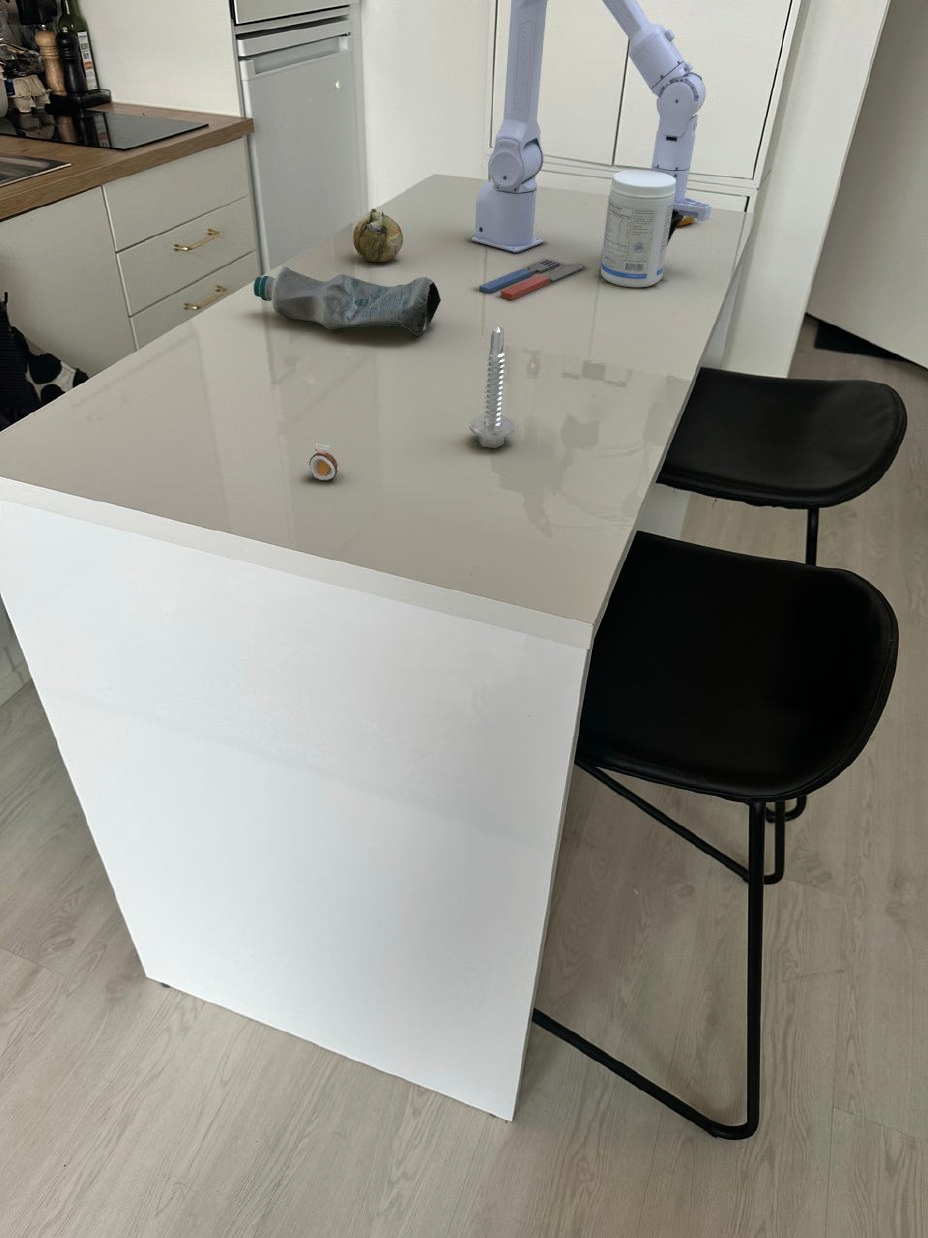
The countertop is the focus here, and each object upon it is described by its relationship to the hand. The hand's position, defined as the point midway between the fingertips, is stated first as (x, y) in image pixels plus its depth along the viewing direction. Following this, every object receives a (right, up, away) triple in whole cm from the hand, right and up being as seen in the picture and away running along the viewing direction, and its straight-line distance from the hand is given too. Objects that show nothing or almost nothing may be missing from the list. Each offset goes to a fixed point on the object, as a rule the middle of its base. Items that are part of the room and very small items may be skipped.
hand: (655, 258), depth 147 cm
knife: (-18, -6, -6) cm, 20 cm away
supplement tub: (-5, -5, -4) cm, 8 cm away
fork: (-22, -5, -5) cm, 23 cm away
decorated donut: (+6, +16, +23) cm, 28 cm away
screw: (-28, -39, -47) cm, 67 cm away
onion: (-44, -1, -1) cm, 44 cm away
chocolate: (-45, -44, -54) cm, 83 cm away
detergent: (-47, -18, -22) cm, 55 cm away
